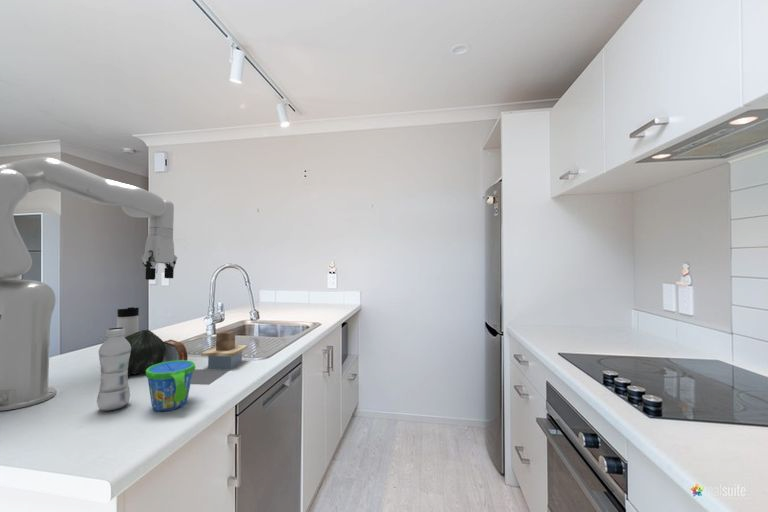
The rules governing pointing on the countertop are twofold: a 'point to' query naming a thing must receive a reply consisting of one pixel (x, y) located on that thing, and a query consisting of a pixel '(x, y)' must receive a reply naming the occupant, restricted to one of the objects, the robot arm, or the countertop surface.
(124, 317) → the travel mug
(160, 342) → the squash
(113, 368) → the plastic bottle
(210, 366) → the dish
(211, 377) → the mat
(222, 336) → the lid
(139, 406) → the countertop surface
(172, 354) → the brown curved piece
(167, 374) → the snack cup
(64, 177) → the robot arm
